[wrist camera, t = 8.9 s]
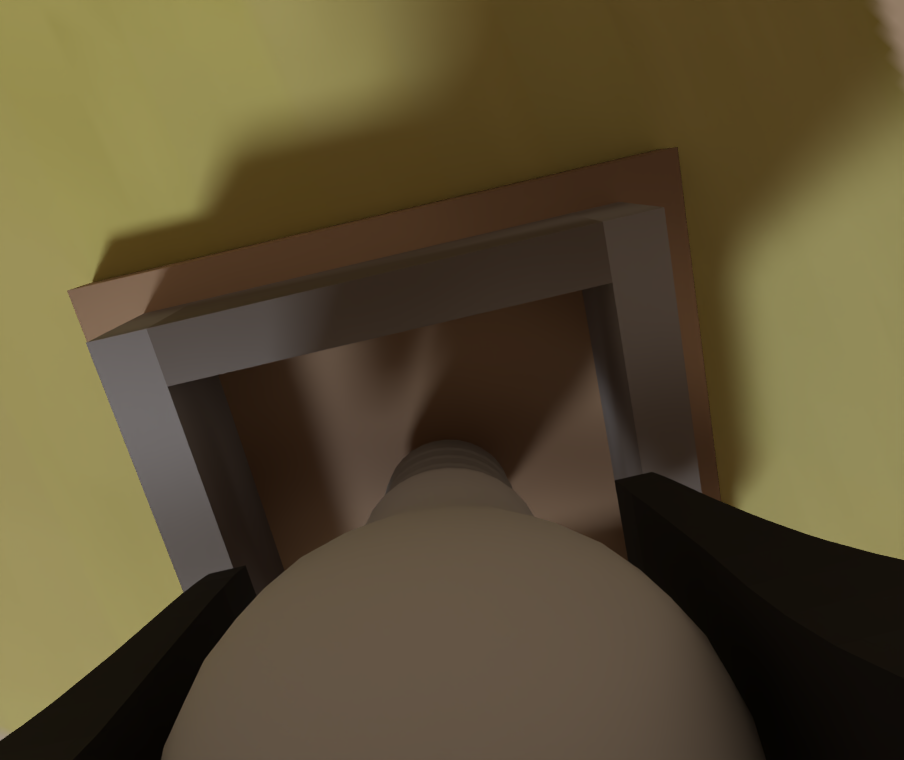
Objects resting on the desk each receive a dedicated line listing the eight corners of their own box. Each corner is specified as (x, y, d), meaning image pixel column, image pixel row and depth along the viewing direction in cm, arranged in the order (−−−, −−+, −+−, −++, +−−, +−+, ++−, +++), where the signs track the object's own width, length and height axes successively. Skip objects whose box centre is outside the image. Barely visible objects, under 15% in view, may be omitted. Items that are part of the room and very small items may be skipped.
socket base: (718, 602, 17) (792, 704, 14) (252, 708, 17) (213, 835, 14) (659, 149, 14) (736, 140, 11) (90, 282, 14) (-9, 315, 11)
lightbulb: (396, 284, 14) (266, 667, 3) (646, 434, 15) (1193, 1104, 4) (254, 524, 15) (-168, 1350, 4) (491, 646, 16) (601, 1546, 6)
